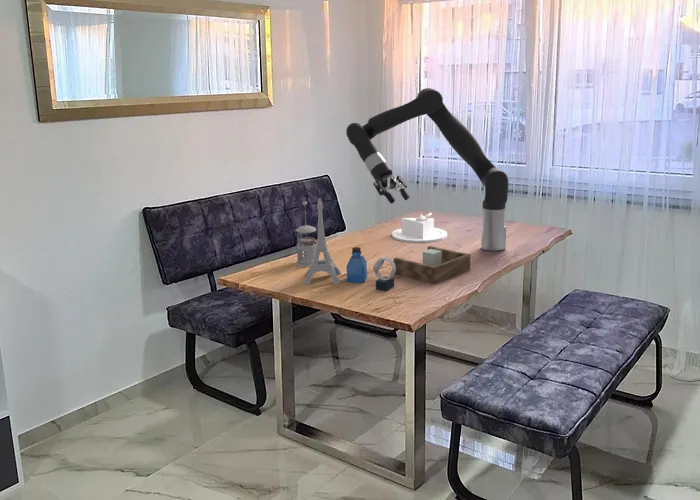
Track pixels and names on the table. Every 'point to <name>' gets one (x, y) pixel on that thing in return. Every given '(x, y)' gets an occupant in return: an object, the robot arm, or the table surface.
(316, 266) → the eiffel tower
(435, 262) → the sage block
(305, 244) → the french press
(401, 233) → the dish
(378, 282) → the watch
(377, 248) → the table surface
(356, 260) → the perfume bottle
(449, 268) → the walnut u-shaped frame
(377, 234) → the table surface
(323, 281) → the table surface
